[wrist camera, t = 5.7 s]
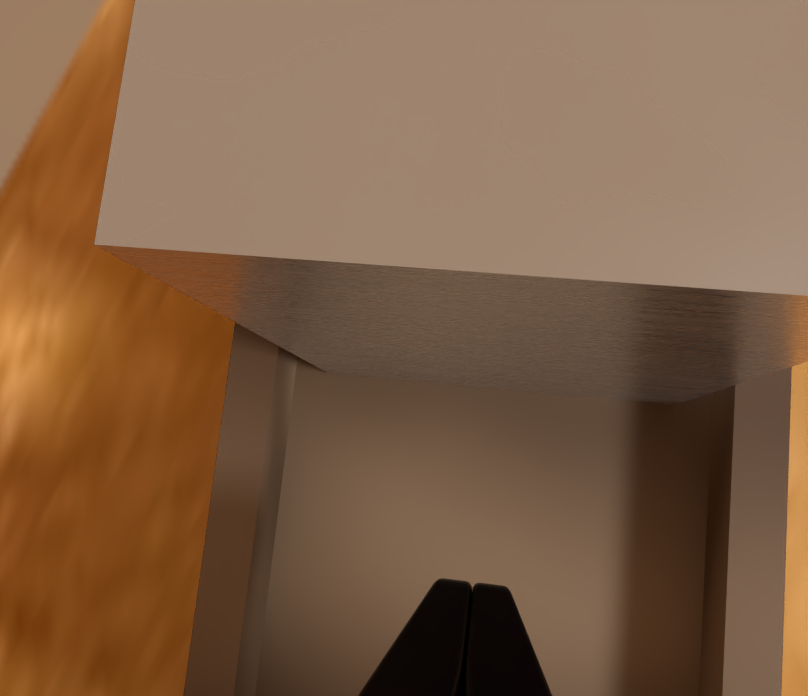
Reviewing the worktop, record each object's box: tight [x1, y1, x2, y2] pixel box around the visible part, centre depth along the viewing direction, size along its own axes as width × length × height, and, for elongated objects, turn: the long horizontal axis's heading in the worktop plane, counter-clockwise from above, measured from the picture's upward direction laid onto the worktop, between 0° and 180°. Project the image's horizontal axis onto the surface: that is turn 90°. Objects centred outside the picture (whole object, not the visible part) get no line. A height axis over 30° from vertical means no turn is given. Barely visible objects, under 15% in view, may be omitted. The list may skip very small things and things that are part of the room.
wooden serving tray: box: [184, 322, 792, 696], centre depth 14 cm, size 26×9×3 cm, turn 174°
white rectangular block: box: [94, 0, 808, 405], centre depth 10 cm, size 6×6×8 cm
